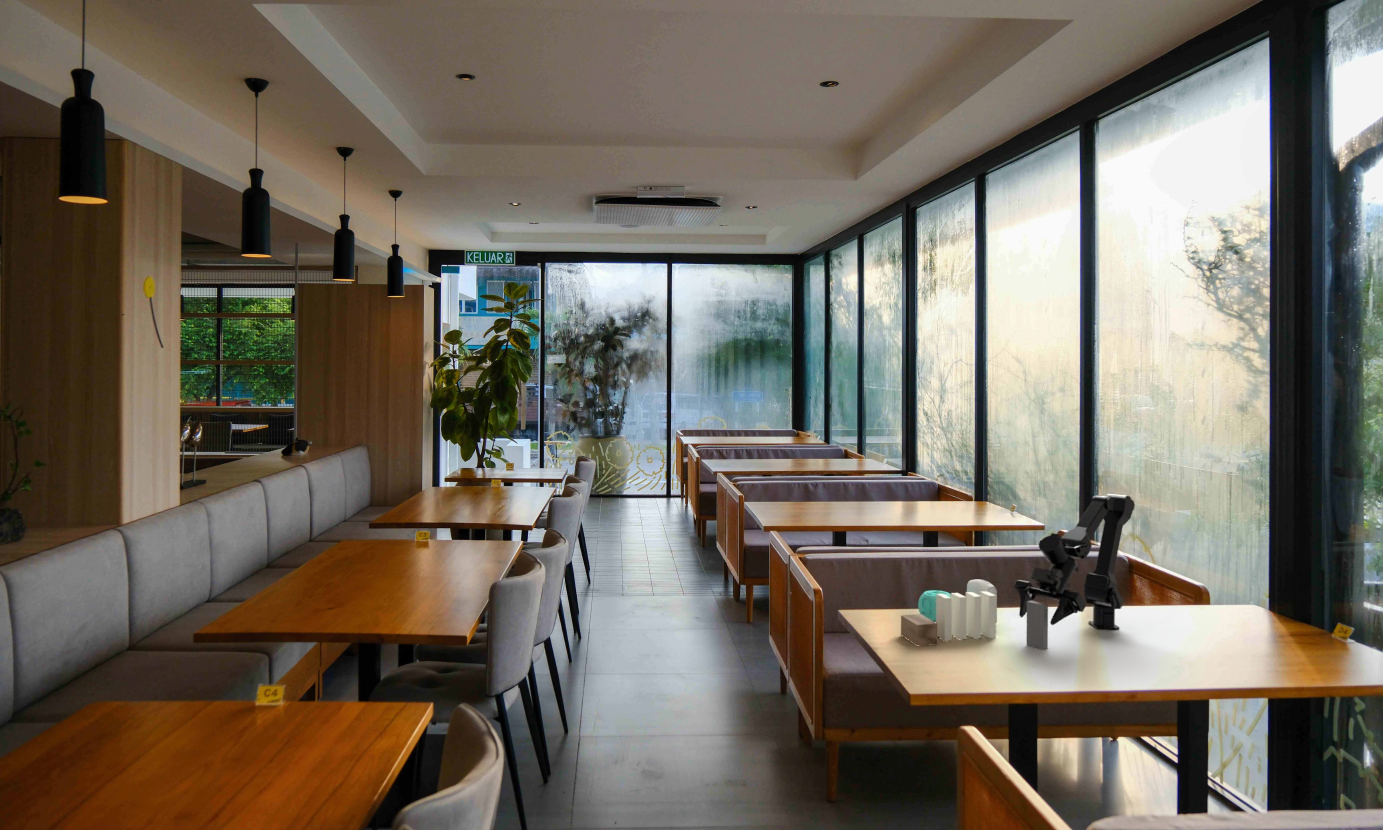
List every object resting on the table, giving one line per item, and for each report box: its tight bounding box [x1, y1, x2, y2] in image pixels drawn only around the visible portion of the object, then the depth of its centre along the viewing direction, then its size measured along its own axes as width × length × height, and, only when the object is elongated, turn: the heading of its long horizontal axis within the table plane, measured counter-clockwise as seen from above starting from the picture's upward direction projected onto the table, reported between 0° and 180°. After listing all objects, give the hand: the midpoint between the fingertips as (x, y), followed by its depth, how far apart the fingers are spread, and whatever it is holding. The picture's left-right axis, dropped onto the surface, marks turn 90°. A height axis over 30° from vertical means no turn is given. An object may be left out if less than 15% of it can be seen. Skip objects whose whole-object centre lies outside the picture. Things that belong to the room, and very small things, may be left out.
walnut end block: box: [900, 613, 938, 646], centre depth 233 cm, size 6×10×6 cm, turn 11°
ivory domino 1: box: [936, 594, 952, 642], centre depth 235 cm, size 2×5×12 cm, turn 11°
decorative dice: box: [917, 589, 951, 622], centre depth 254 cm, size 8×8×8 cm
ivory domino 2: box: [950, 592, 967, 641], centre depth 235 cm, size 2×5×12 cm, turn 11°
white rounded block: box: [966, 578, 998, 624], centre depth 252 cm, size 10×4×12 cm, turn 20°
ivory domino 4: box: [980, 591, 997, 639], centre depth 237 cm, size 2×5×12 cm, turn 11°
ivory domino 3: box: [965, 591, 982, 640], centre depth 236 cm, size 2×5×12 cm, turn 11°
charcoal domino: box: [1026, 600, 1049, 651], centre depth 227 cm, size 2×5×12 cm, turn 35°
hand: (1035, 620), depth 226 cm, fingers open, 9 cm apart
